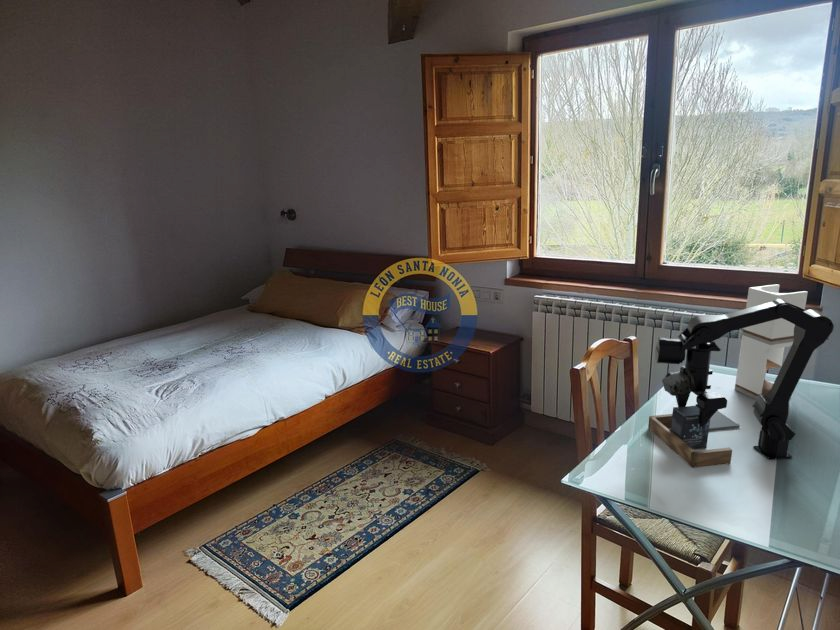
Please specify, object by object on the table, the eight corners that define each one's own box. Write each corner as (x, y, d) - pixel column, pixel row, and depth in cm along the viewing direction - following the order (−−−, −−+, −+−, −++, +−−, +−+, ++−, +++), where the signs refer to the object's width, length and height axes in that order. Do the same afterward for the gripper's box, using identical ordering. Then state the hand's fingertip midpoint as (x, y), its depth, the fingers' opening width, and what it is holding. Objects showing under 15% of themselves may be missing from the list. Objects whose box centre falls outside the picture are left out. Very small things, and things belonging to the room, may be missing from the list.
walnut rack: (730, 463, 144) (732, 449, 143) (692, 467, 142) (694, 453, 141) (681, 425, 164) (683, 412, 163) (648, 428, 163) (649, 416, 162)
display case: (761, 402, 177) (778, 295, 167) (734, 389, 187) (748, 287, 177) (789, 396, 180) (807, 291, 170) (761, 384, 190) (777, 284, 180)
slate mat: (739, 427, 162) (739, 425, 161) (700, 431, 160) (701, 429, 160) (712, 409, 173) (713, 407, 173) (676, 413, 171) (676, 410, 171)
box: (680, 451, 150) (684, 416, 147) (668, 441, 155) (672, 406, 152) (707, 448, 151) (711, 413, 148) (694, 438, 156) (698, 404, 153)
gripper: (649, 355, 154) (645, 406, 159) (690, 381, 137) (683, 438, 141) (687, 351, 156) (681, 403, 160) (732, 377, 138) (724, 434, 142)
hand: (691, 418), depth 151 cm, fingers open, 9 cm apart
